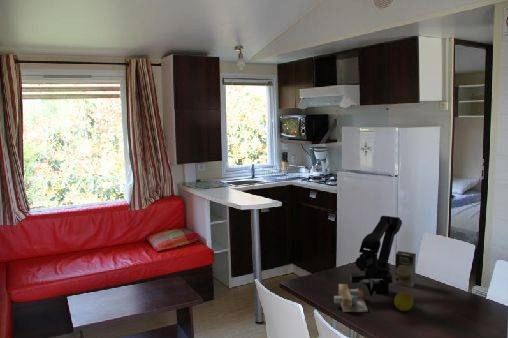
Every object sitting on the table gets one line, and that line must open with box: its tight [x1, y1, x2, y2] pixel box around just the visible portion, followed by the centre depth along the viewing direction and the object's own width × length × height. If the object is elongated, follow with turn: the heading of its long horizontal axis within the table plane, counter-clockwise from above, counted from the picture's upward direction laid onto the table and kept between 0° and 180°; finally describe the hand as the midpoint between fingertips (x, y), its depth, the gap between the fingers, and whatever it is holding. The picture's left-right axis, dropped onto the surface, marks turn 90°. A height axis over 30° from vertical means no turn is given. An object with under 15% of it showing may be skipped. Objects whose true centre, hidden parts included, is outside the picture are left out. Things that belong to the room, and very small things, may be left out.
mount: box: [338, 283, 369, 313], centre depth 209 cm, size 11×18×6 cm, turn 175°
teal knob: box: [333, 294, 357, 305], centre depth 205 cm, size 10×4×5 cm, turn 85°
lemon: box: [393, 291, 414, 312], centre depth 201 cm, size 11×8×8 cm
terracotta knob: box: [348, 287, 364, 299], centre depth 212 cm, size 10×4×5 cm, turn 85°
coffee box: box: [394, 250, 417, 288], centre depth 230 cm, size 9×6×16 cm
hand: (370, 295), depth 212 cm, fingers closed
